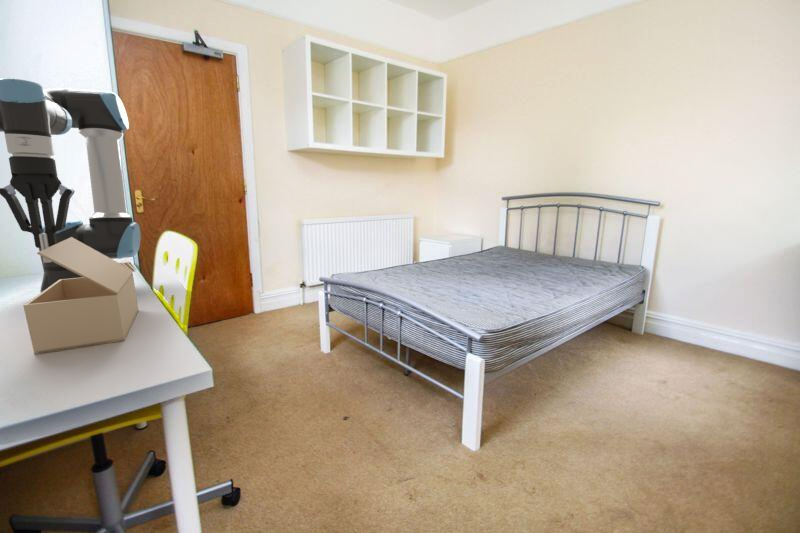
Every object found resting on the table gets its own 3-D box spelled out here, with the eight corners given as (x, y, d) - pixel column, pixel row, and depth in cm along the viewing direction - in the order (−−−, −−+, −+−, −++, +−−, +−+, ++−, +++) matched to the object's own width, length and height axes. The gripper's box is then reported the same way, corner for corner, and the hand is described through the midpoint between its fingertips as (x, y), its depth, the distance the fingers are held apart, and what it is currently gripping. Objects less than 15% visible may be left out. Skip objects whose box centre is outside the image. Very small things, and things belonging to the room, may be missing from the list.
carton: (67, 319, 105) (59, 279, 102) (138, 310, 112) (132, 272, 109) (34, 354, 84) (23, 305, 81) (124, 340, 91) (116, 295, 88)
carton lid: (70, 238, 101) (71, 236, 102) (132, 272, 109) (133, 270, 109) (36, 253, 81) (38, 252, 81) (116, 294, 88) (117, 292, 88)
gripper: (-16, 153, 80) (5, 266, 85) (63, 156, 86) (78, 262, 90) (1, 155, 87) (19, 260, 92) (73, 158, 92) (87, 257, 97)
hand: (49, 261), depth 91 cm, fingers closed
